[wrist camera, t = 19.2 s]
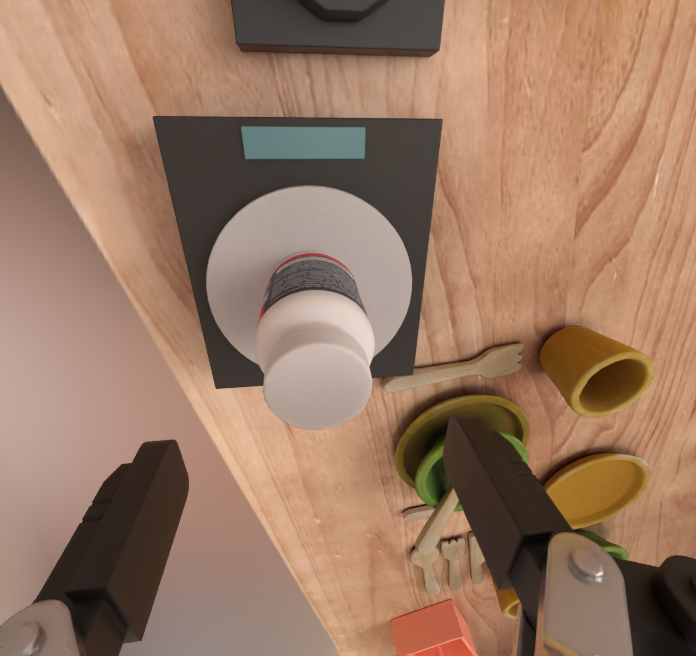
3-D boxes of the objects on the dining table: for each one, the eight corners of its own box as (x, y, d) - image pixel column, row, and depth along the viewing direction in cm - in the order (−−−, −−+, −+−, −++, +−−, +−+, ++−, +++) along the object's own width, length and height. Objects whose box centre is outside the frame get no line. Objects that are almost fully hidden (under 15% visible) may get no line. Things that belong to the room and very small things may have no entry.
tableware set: (370, 361, 27) (387, 416, 22) (703, 283, 28) (803, 318, 22) (418, 597, 48) (433, 657, 42) (610, 551, 48) (650, 605, 42)
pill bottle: (254, 261, 19) (219, 344, 11) (347, 240, 19) (377, 308, 11) (282, 341, 21) (269, 454, 14) (363, 322, 21) (397, 425, 14)
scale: (224, 364, 26) (212, 396, 23) (173, 119, 18) (144, 114, 15) (402, 353, 27) (416, 382, 24) (424, 122, 20) (449, 117, 16)
